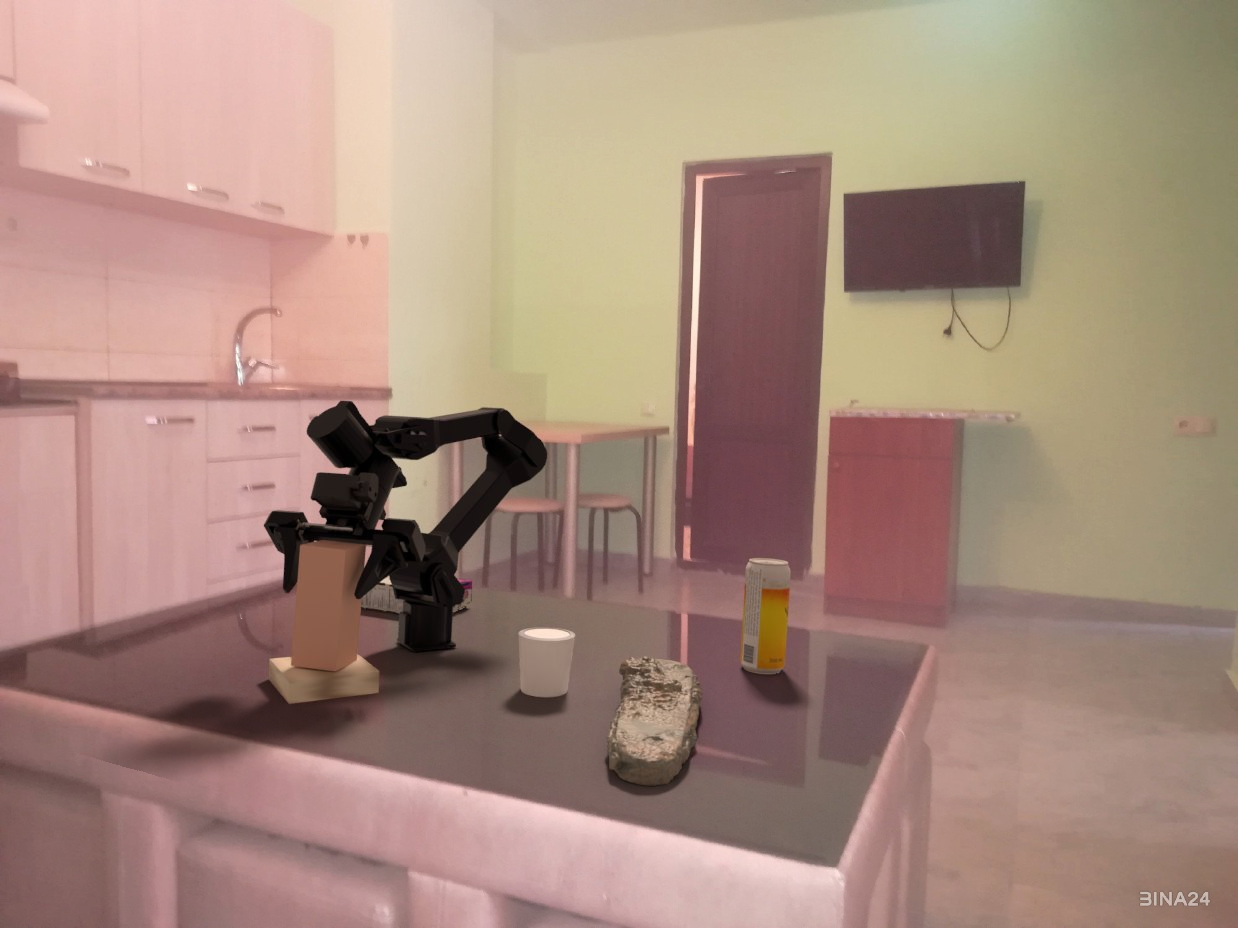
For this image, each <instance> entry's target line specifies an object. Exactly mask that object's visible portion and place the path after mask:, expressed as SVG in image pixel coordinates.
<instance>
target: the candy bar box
mask: <svg viewBox="0 0 1238 928" xmlns="http://www.w3.org/2000/svg"><path fill="white" fill-rule="evenodd" d="M457 579H458V581H459V582H460V583H461V585H462V586H463V587H464V588H465V592H464V596H463V599H462V603H461V604H457V605H455V607H453V611H455V610H459V609H460V608H463V607H467V606H468V605H471V606H472V601H473V599H472V596H473V594H472V593H473V580H471V579H463V578H457ZM403 601H404V600H401V599H399V600H398V599H395V595H394V591H393V587H392V584H391V581H390V578H389V576H388V577H386V578H385V579H384V580H382V581H381V582H380V583H378V584H377V585H376V586H375V587H374V588H373V589H371V590H370V591H369V592H368V593H367V594H365V595H364V596H363V597H362V602H361V607H362V608H361V609H366V608H372V609H376V610H375V611H379V610H384V611H383V612H386V611H391V612H390V613H393V612H395V614H399V613H400V612H403ZM372 609H371V610H372Z"/></svg>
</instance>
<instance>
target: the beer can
mask: <svg viewBox="0 0 1238 928" xmlns="http://www.w3.org/2000/svg"><path fill="white" fill-rule="evenodd" d="M748 560H749V561H748V562H747V564H746V566H745V573H744V575H745V576H744V589H743V591H744V593H743V609H742V621H741V622H742V624H741V625H742V626H741V637H740V638H741V643H740V656H739V657H740V658H739V662H740V664H741V665H742V666H743V669H744V670H745V671H747V672H750V673H753V674H758V675H777V674H779V673H781V670H782V669H783V668H784V667H786V651H787V635H788V622H789V621H788V618H789V605H790V604H789V602H790V591H791V589H790V588H791V572H792V570H791V568H790V565H789V562H788V561H786V560H783V559H777V558H770V557H769V558H767V557H766V558H765V557H753V558H749V559H748ZM776 673H777V674H776Z"/></svg>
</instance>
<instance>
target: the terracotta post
mask: <svg viewBox="0 0 1238 928" xmlns="http://www.w3.org/2000/svg"><path fill="white" fill-rule="evenodd" d="M366 550H367V546H366V545H364V544H355V543H346V542H337V541H329V540H320V541H314V542H311V543H307V544H302V545H300V554H299V567H298V580H297V583H296V594H295V609H294V619H293V620H294V621H293V623H294V624H293V631H292V636H293V637H292V647H291V656H290V657H291V666H298V667H305V668H312V669H320V670H327V671H335V672H336V671H338V670H340V669H341V668H343V667H345V666H347V665H349V664H351V663H353V662H354V661H356V660H357V654H358V651H359V650H358V648H359V639H360V638H359V637H360V624H361V614H362V613H361V611H362V608H361V602H362V598H361V599H356V597H355V595H354V593H355V590H356V586H357V583H358V581H359V578H360V576H361V574H362V572H363V570H364V567H365V565H366V563H365V562H366Z"/></svg>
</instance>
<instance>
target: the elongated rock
mask: <svg viewBox="0 0 1238 928" xmlns="http://www.w3.org/2000/svg"><path fill="white" fill-rule="evenodd" d="M618 671H619V675H621V676H622V682H621V685H620V688H619V689H620V703H619V704H618V708H617V709H616V710H615V714H614V716H613V718H612V719H611V721H610V725H609V730H608V733H607V735H606V743H607V745H606V747H607V751H608V757H609V762H608V765H609V770H614V772H615V773H616V774H617V775H618V778H620V779H621V780H623V781H626V782H629V783H632V784H636V785H637V786H647V787H650V786H652V787H656V786H663V785H668V784H670V782H671V781H673V779H674V777H675V776H677V775H678V774H680V773H679V772H680V771H681V769H682V768H683V767H682V765H683V764H684V763H685V762H686V761H688V759H689V757H690V753H691V749H692V747H693V746H695V744H696V743H697V741H698V735H697V730H696V728H697V725H698V719H699V715H700V708H702V706H701V703H702V699H703V692H702V687H701V683H700V682H699V680H698V678H699V677H698V675H696V674H695V673H694V672H693V670H692V668H690V666H688V665H687V664H685V663H683V662H680V661H676V660H671V659H662V658H650V657H649V656H645V655H644V656H642V657H640V658H634V657H633V656H629V658H628V659H624V660H623V661H622V662H621V663H620V666H619V669H618Z"/></svg>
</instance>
